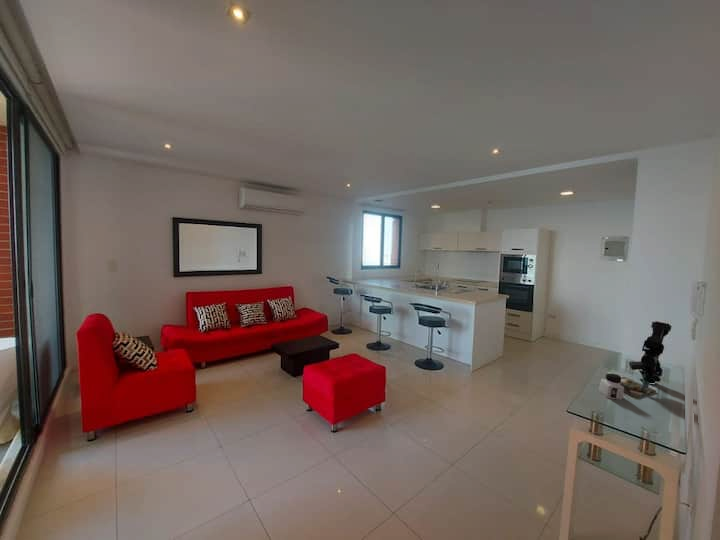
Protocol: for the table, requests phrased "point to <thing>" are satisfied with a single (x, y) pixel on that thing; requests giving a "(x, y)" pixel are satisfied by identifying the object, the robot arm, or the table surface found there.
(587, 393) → the table surface
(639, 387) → the capstan
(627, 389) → the stand
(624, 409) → the table surface
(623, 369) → the table surface
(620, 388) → the container
